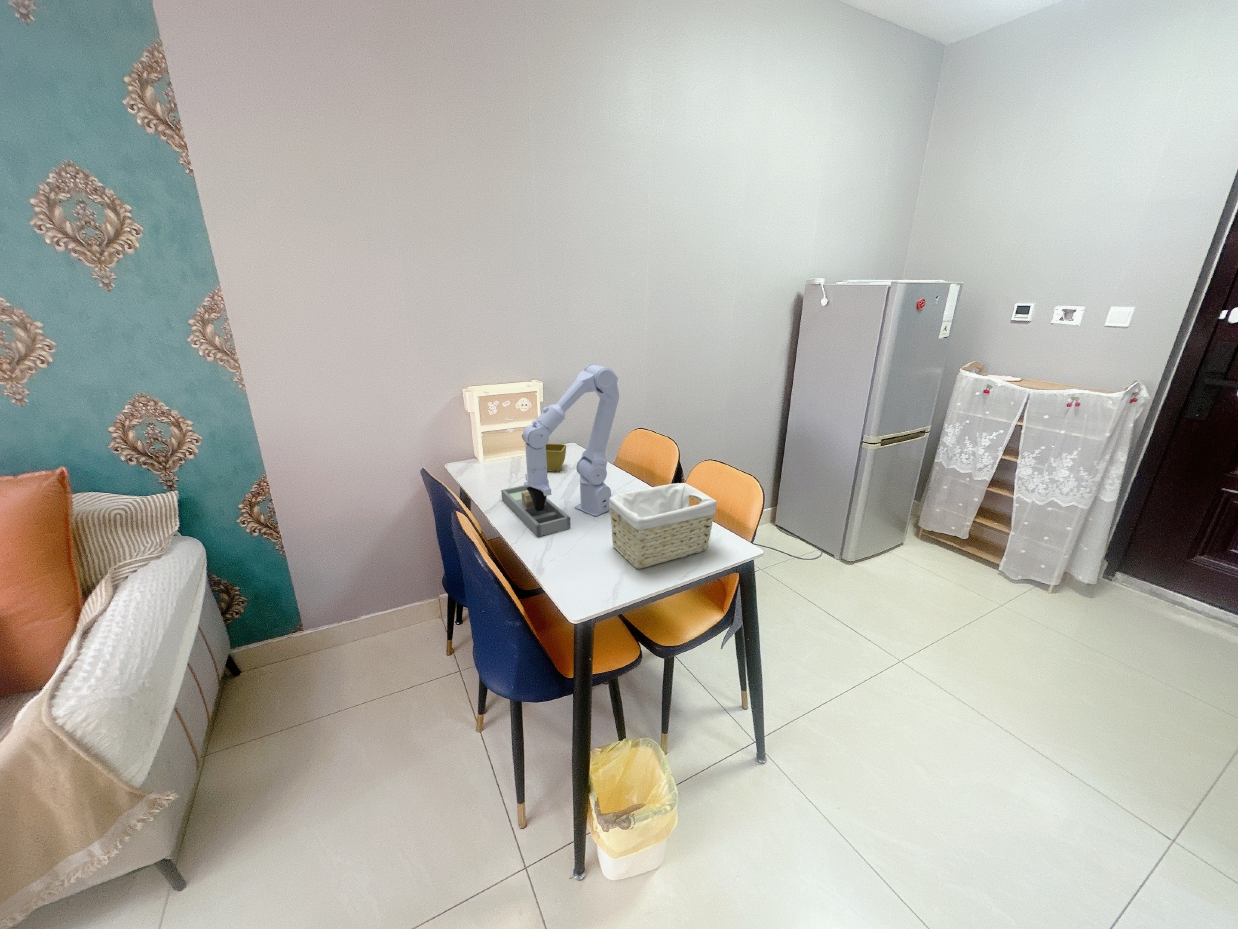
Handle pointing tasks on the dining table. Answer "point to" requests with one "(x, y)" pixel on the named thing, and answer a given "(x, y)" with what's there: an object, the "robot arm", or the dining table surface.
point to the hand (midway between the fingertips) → (539, 509)
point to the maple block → (527, 499)
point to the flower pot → (555, 456)
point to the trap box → (536, 513)
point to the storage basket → (661, 523)
